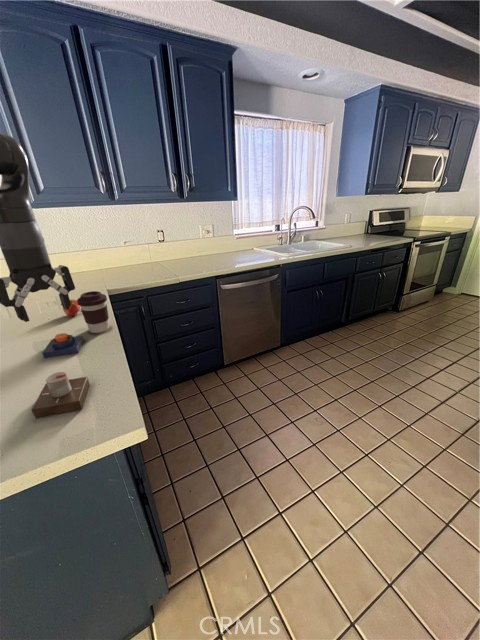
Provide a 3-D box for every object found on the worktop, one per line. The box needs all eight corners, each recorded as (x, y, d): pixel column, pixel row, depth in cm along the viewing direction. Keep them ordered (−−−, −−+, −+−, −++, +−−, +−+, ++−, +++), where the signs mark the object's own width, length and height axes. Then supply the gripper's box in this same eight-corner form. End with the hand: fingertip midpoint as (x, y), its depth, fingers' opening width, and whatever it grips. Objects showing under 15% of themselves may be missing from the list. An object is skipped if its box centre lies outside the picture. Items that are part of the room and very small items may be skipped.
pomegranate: (80, 315, 124) (56, 306, 117) (88, 302, 123) (64, 293, 116) (81, 322, 118) (56, 314, 112) (89, 309, 117) (64, 300, 111)
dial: (48, 398, 65) (42, 383, 63) (54, 387, 69) (48, 372, 67) (69, 395, 66) (63, 379, 64) (73, 384, 70) (68, 369, 68)
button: (54, 343, 88) (53, 338, 88) (58, 338, 91) (56, 334, 91) (66, 341, 89) (65, 337, 89) (69, 337, 92) (68, 332, 92)
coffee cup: (86, 337, 99) (76, 300, 93) (84, 327, 107) (74, 292, 101) (115, 331, 104) (106, 295, 98) (111, 322, 112) (103, 288, 105)
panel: (35, 419, 63) (31, 409, 62) (49, 392, 72) (45, 382, 70) (82, 409, 66) (78, 400, 64) (89, 385, 74) (87, 376, 73)
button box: (44, 358, 87) (40, 348, 85) (53, 345, 94) (49, 335, 93) (78, 353, 89) (75, 343, 88) (84, 340, 97) (81, 331, 95)
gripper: (52, 238, 63) (71, 302, 70) (-27, 247, 52) (4, 321, 59) (67, 241, 59) (85, 308, 66) (-16, 251, 49) (17, 330, 55)
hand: (47, 314), depth 63 cm, fingers open, 8 cm apart
